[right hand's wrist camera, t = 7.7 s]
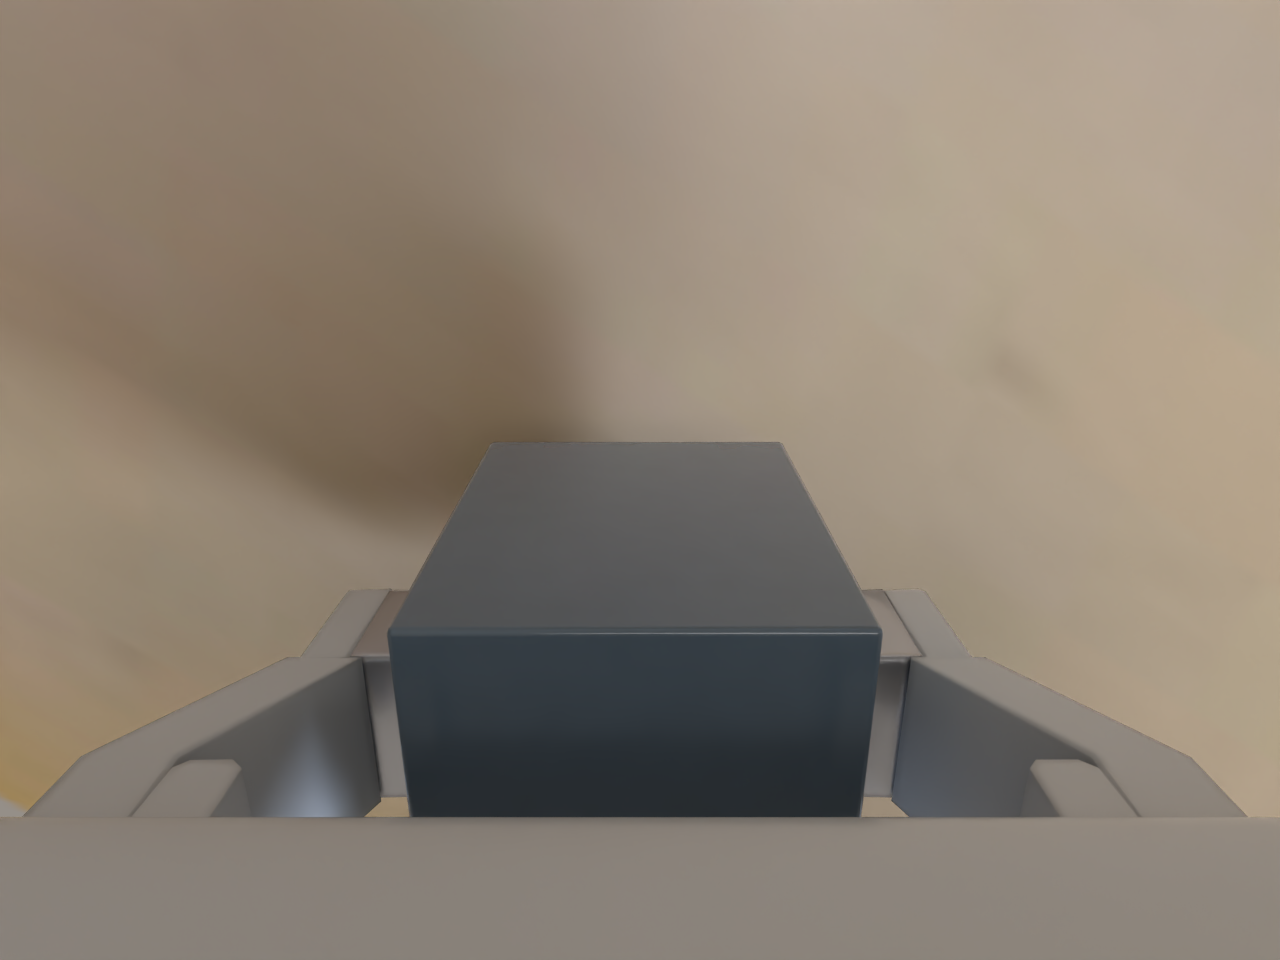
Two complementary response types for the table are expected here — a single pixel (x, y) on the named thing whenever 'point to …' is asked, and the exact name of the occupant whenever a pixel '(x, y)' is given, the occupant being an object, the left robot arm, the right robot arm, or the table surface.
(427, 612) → the cube
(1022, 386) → the table surface
